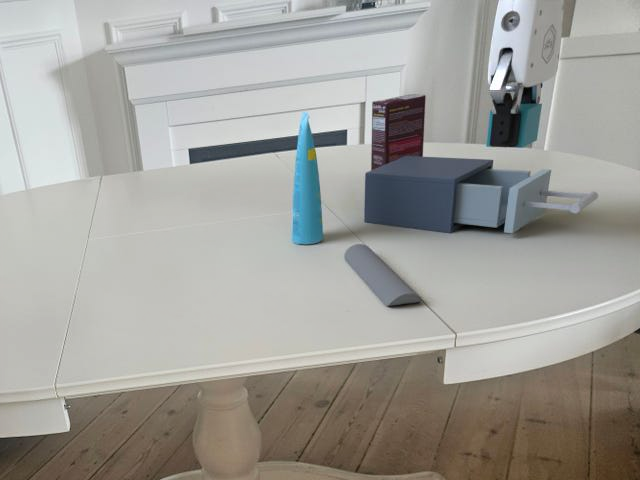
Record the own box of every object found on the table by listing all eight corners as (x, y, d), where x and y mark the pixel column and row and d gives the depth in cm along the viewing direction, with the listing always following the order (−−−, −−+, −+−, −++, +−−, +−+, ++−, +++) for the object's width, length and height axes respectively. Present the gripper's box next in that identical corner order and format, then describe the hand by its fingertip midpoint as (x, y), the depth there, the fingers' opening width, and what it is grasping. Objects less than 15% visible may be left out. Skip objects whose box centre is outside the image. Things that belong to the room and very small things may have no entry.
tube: (327, 245, 97) (327, 113, 88) (296, 249, 97) (292, 118, 88) (317, 231, 104) (316, 107, 95) (288, 235, 104) (283, 112, 95)
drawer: (599, 217, 90) (607, 172, 87) (568, 240, 84) (577, 193, 81) (456, 203, 104) (459, 164, 102) (421, 222, 98) (424, 181, 95)
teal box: (537, 140, 81) (542, 103, 79) (523, 147, 79) (528, 109, 77) (500, 139, 85) (504, 104, 82) (485, 146, 82) (489, 110, 80)
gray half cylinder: (372, 253, 91) (372, 242, 91) (425, 305, 74) (426, 291, 73) (342, 257, 92) (342, 245, 91) (388, 310, 74) (389, 296, 73)
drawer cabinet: (487, 211, 102) (493, 159, 98) (450, 233, 95) (455, 178, 91) (403, 202, 112) (405, 155, 108) (364, 222, 105) (365, 172, 101)
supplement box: (406, 178, 126) (410, 93, 119) (422, 182, 122) (427, 94, 115) (368, 186, 124) (370, 100, 117) (383, 191, 120) (386, 102, 113)
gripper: (538, -21, 66) (515, 158, 74) (593, -30, 75) (567, 130, 84) (466, -11, 71) (452, 155, 80) (526, -20, 81) (508, 129, 89)
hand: (511, 140), depth 82 cm, fingers closed on teal box, 4 cm apart
